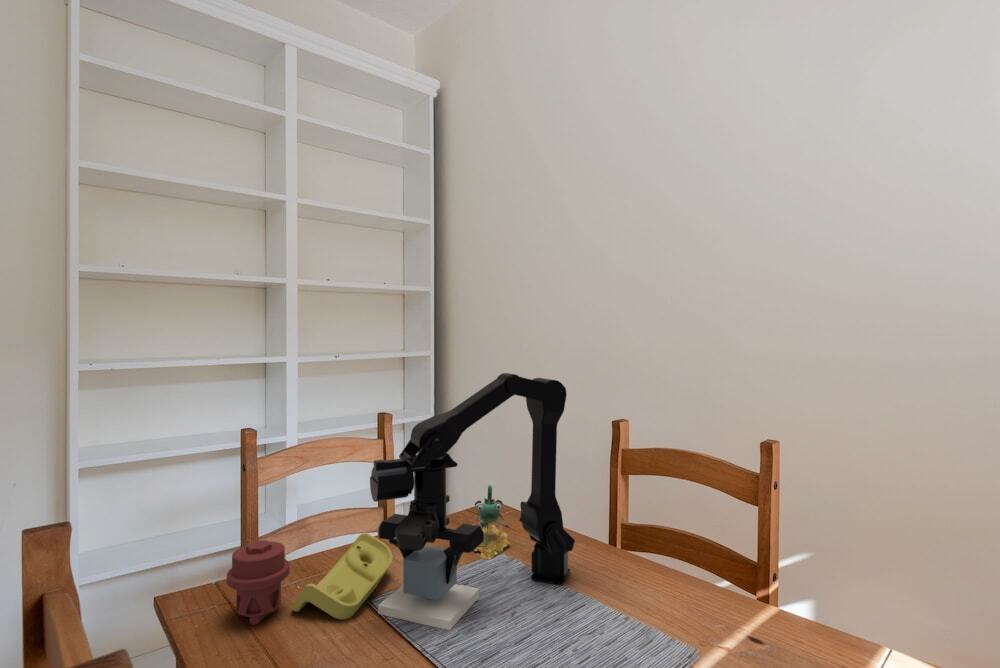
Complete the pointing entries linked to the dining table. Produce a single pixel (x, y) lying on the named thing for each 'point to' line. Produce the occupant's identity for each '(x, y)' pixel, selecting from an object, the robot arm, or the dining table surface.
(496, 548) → the green and yellow piece
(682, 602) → the dining table surface
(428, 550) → the slate grey cube
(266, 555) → the mechanical component
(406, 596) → the base plate
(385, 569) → the plastic component
